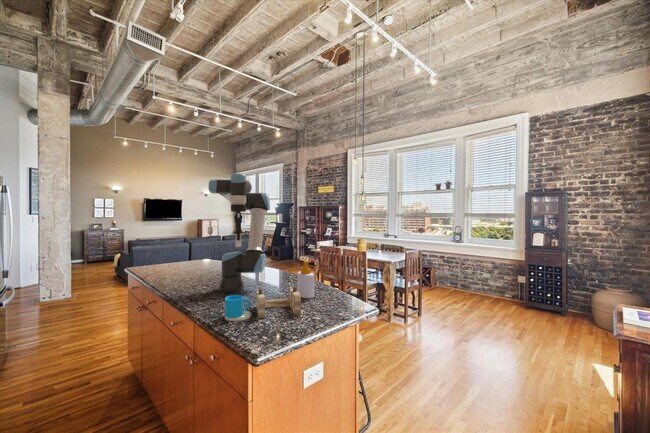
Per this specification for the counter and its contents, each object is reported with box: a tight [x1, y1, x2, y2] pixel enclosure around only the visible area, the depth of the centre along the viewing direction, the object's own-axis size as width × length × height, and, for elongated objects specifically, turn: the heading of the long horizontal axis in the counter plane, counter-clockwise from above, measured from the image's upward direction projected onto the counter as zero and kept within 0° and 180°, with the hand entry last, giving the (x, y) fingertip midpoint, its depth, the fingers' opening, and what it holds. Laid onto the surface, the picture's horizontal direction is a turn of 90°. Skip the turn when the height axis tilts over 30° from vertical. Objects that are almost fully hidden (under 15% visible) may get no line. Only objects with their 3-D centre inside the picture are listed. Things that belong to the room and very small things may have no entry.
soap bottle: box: [296, 260, 315, 299], centre depth 172 cm, size 13×8×20 cm, turn 34°
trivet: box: [224, 310, 252, 322], centre depth 137 cm, size 12×12×1 cm
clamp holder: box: [255, 286, 302, 319], centre depth 146 cm, size 16×20×11 cm
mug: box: [224, 294, 251, 318], centre depth 138 cm, size 12×8×8 cm
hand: (238, 245), depth 151 cm, fingers open, 13 cm apart
